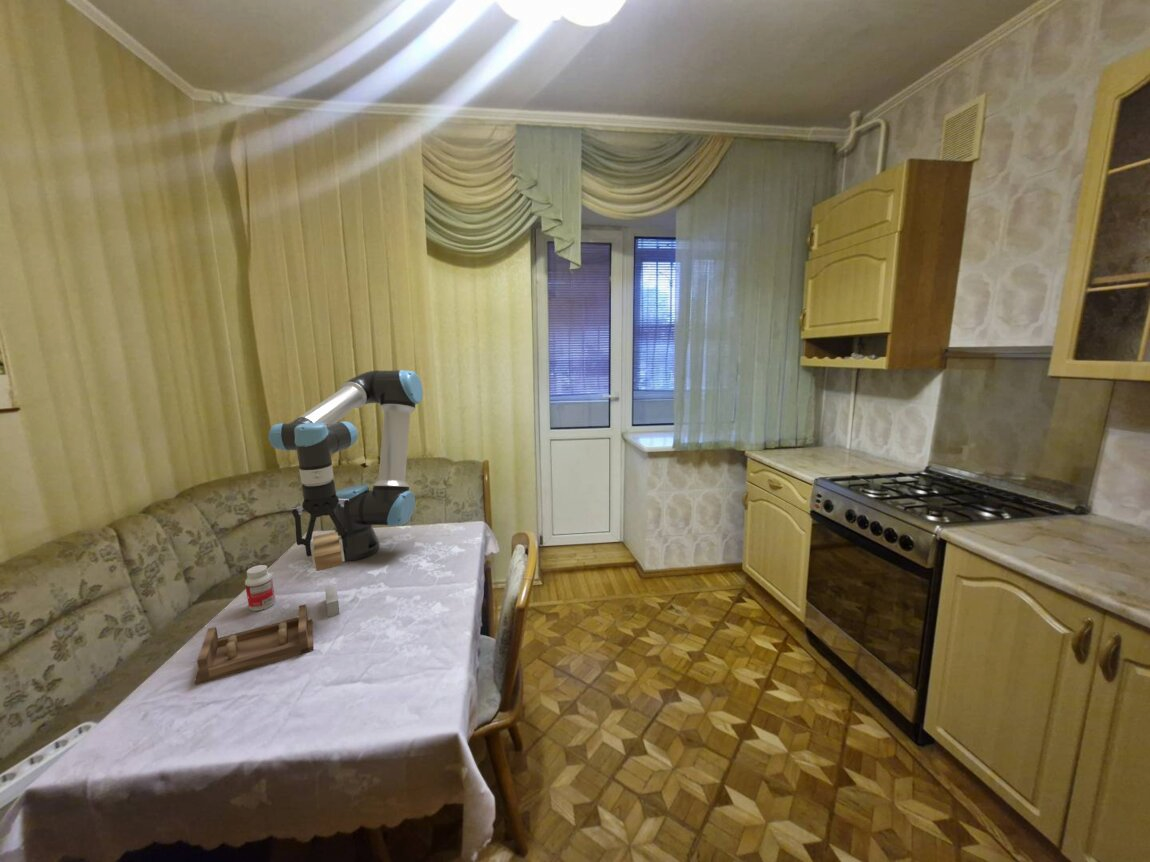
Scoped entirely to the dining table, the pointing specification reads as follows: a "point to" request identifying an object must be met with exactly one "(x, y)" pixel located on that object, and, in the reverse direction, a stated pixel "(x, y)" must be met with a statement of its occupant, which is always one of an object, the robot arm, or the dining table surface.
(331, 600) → the stand
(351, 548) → the robot arm
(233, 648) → the peg frame
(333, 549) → the plank
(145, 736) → the dining table surface
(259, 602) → the pill bottle
